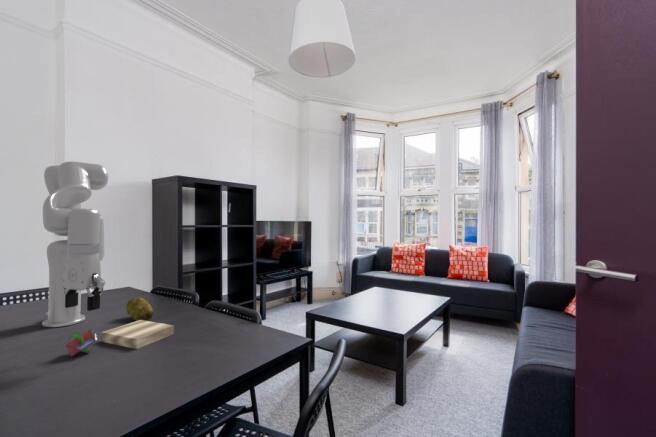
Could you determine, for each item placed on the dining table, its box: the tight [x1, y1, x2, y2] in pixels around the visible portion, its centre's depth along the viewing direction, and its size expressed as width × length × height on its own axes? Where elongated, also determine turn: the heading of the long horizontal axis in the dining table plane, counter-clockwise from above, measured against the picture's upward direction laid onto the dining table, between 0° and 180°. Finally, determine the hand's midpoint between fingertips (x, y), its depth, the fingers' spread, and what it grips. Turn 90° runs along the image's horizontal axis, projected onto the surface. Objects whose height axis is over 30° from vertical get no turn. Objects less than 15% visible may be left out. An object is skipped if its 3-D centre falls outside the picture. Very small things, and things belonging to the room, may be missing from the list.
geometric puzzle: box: [65, 329, 98, 358], centre depth 92 cm, size 7×7×8 cm
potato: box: [125, 297, 155, 321], centre depth 125 cm, size 8×13×8 cm, turn 41°
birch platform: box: [100, 320, 175, 350], centre depth 105 cm, size 16×14×3 cm
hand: (82, 308), depth 91 cm, fingers open, 9 cm apart
